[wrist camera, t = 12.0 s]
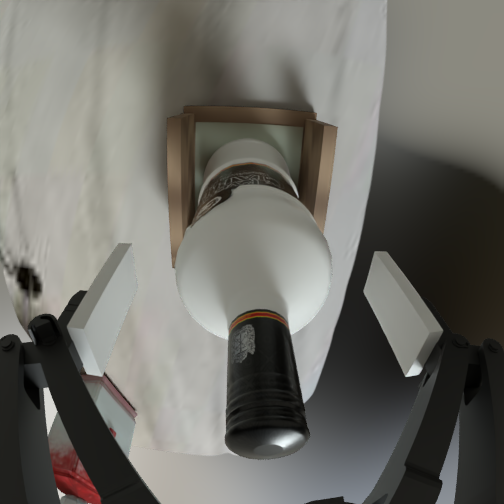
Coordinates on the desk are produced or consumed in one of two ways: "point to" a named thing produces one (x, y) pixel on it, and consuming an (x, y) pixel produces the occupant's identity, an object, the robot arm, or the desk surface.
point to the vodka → (255, 290)
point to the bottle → (64, 455)
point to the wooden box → (238, 127)
